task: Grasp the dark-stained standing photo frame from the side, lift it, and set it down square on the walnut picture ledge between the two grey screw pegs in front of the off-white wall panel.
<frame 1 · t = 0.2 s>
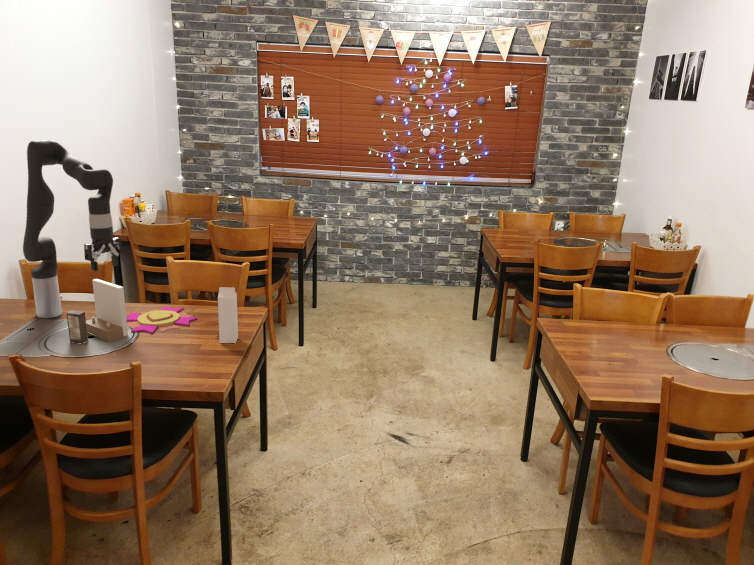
hand: (105, 268, 216), 29 cm above the table, tool pointing down, fingers open, 8 cm apart
milk: (229, 341, 229), on the table
wall panel: (110, 331, 232), on the table
wall ornament: (159, 321, 247), on the table
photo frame: (79, 342, 222), on the table
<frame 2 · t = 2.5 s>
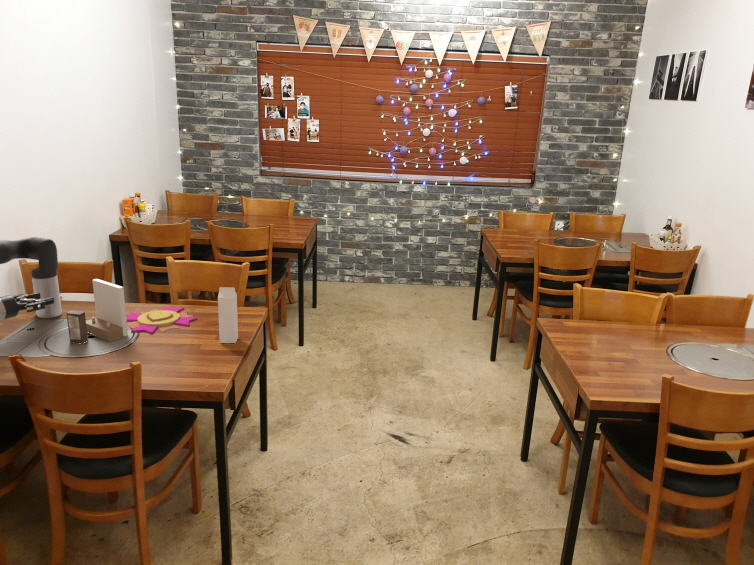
hand: (46, 297, 208), 20 cm above the table, tool horizontal, fingers open, 8 cm apart
nothing on the table moved.
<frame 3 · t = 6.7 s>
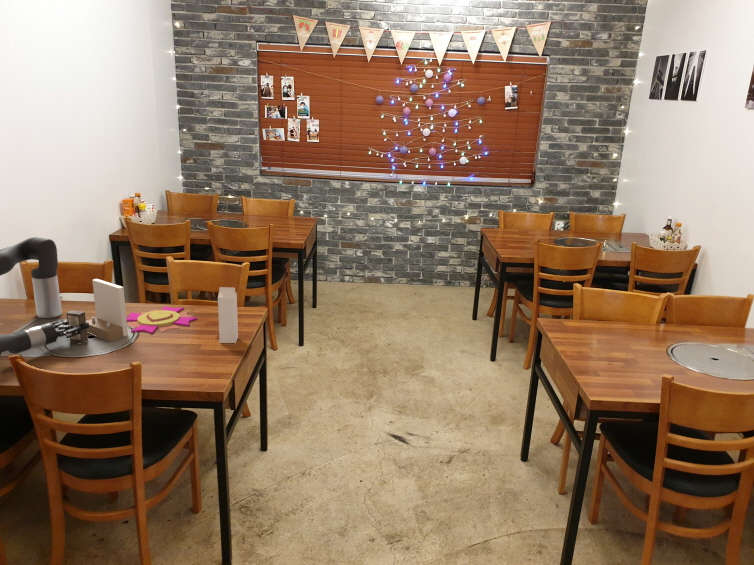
hand: (83, 322, 222), 7 cm above the table, tool horizontal, fingers closed on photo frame, 6 cm apart
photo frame: (79, 341, 222), on the table, touching gripper
everything else where it was.
when the fingers open (12 cm above the table, at t = 12.0 s): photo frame drops 1 cm, resting on wall panel.
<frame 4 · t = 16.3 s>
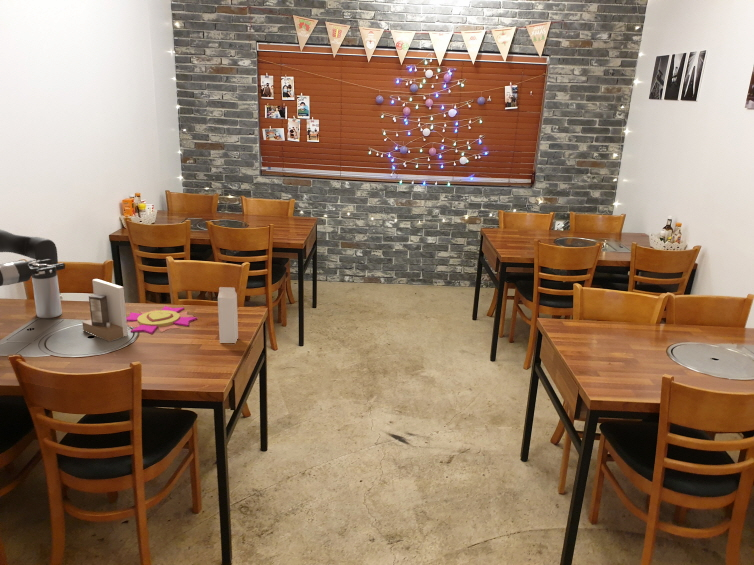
hand: (57, 263, 215), 30 cm above the table, tool horizontal, fingers open, 8 cm apart
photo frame: (100, 325, 228), point 4 cm above the table, touching wall panel
everything else where it was.
at the end: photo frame 0.2 cm from the target spot on the wall panel, point 4.0 cm above the wall panel's base; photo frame tilted 0°; the gripper is holding nothing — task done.
